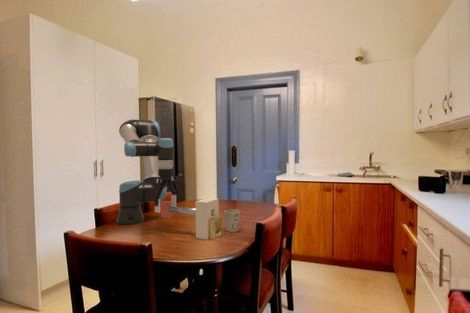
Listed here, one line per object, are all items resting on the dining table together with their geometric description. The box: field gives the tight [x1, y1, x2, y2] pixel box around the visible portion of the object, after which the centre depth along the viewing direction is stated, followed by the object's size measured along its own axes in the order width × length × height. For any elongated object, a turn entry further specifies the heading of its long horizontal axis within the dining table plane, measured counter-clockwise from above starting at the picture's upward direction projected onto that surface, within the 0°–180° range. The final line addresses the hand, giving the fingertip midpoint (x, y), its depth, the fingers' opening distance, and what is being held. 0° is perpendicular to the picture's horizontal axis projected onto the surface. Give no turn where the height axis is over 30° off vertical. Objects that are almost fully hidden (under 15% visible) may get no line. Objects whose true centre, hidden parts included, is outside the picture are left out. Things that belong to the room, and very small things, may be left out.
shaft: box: [160, 200, 196, 218], centre depth 146 cm, size 27×3×8 cm, turn 67°
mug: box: [223, 208, 241, 233], centre depth 152 cm, size 8×13×10 cm, turn 27°
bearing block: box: [195, 197, 220, 240], centre depth 141 cm, size 6×12×17 cm, turn 157°
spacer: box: [209, 215, 223, 240], centre depth 139 cm, size 2×9×9 cm, turn 157°
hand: (165, 209), depth 151 cm, fingers open, 13 cm apart
